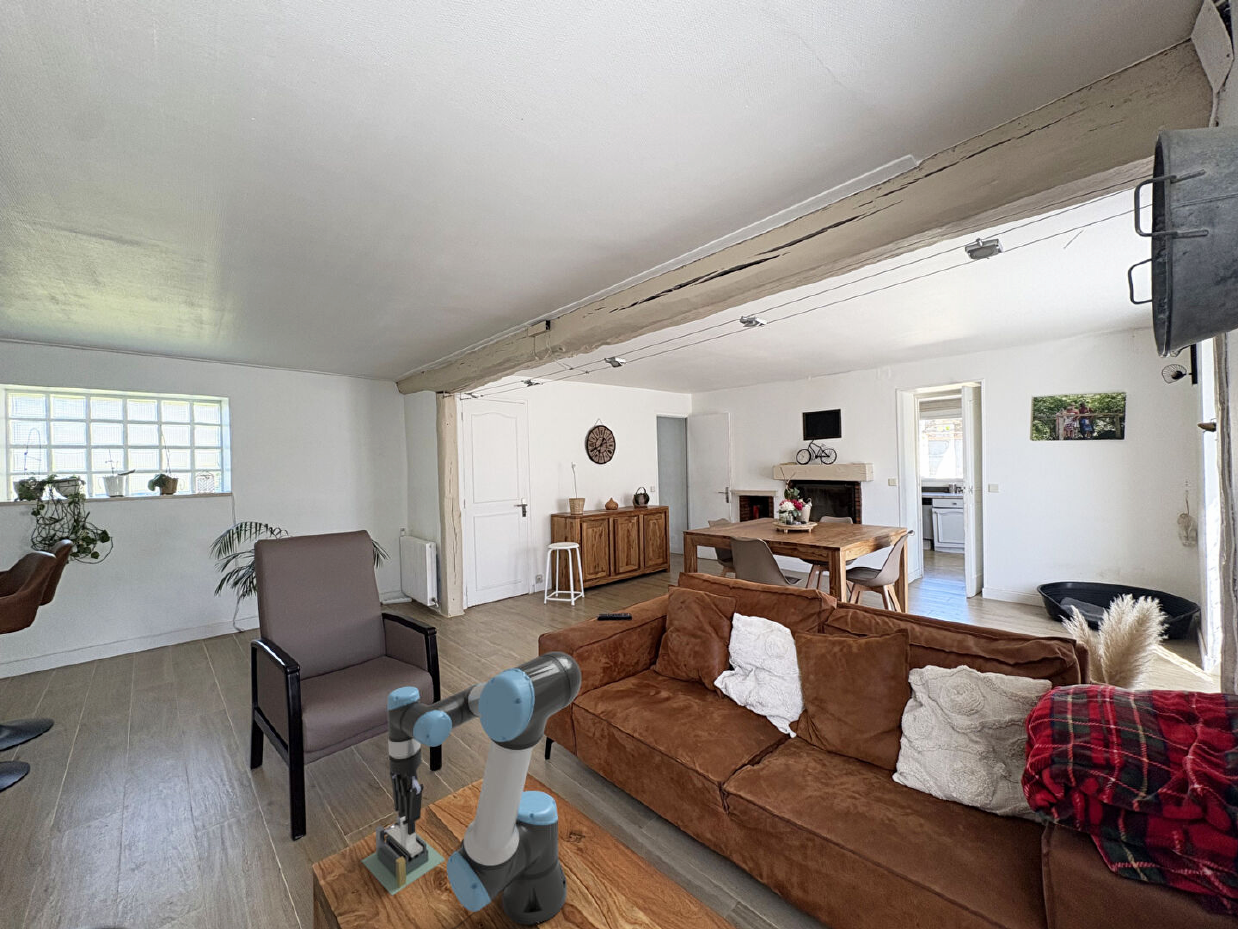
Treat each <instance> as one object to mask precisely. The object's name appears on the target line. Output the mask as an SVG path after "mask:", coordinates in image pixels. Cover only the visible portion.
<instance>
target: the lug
mask: <svg viewBox="0 0 1238 929" xmlns="http://www.w3.org/2000/svg"><path fill="white" fill-rule="evenodd" d="M396 882H397V885H398V887H399V888H400V887H402V886H403V885H405V884H406V865H405V859H404V858H403V857H400V858H398V859H397V860H396Z"/></svg>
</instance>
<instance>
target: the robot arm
mask: <svg viewBox="0 0 1238 929" xmlns="http://www.w3.org/2000/svg"><path fill="white" fill-rule="evenodd" d="M581 686H582V672H581V668H580V666H579V664H578V663H577V661H576V660H575V658H574V657H572V656H571V655H569V654H567V653H565V652H563V651H550V652H546V653H544V654H541V655H539V656H536V657H535V658H532V659H531V660H528V661H526V662H523V663H521V664H519V665H516V666H514V667H512V668H508V669H505V670H503V671H501V672H500V673H498V674H497V675H494V676H493V677H492V678H490V679H489V680H488V681H486V682H480V683H476V684H473V685H471V686H470V687H468V688H466V689H464V690H461V691H459V692H457V693H454V694H453V695H449V696H447V697H445V698H443V699H442V700H439V701H437V702H434V703H432V704H426V703H423V702H422V701H420V699H421V697H420V691H419V689H418V688H417V687H414V686H404V687H400V688H397V689H393V691H391V692H390V693H389V694H388V695H387V708H386V712H387V713H386V714H387V728H388V729H387V733H388V734H387V735H388V738H387V740H388V755H389V757H388V758H389V759H388V761H389V776H390V780H391V788H392V797H393V804H394V811H395V812H396V813H397V812H398V813H397V815H399V817H400V830H401V845H404V847H405V848H408V847H409V846H411V845H413V844H414V843H416V834H417V833H416V832H417V831H416V822H417V821H418V820H419V819H421V813H422V812H421V811H422V799H423V798H422V796H423V791H424V784H422V783H420V784H419V782H418V779H419V777H418V774H417V770H418V768H419V767H420V765H421V764H422V748H421V745H426V746H428V747H433V748H434V747H438V746H440V745H442V744H443V743H444V742H445V740H447V739H448V737H449V736H450V734H451V732H452V730H454V729H456V728H458V727H459V726H462V725H463V724H465V723H467V722H470V721H472V720H474V719H477V718H479V721H480V724H481V727H482V729H483V731H484V732H485V734H486V735H487V737H488V739H489V740H490V743H489V744H490V745H489V750H488V755H487V760H486V765H485V769H484V774H483V779H482V784H481V789H480V793H479V797H478V798H479V799H478V802H477V808H476V811H475V812H476V814H475V817H474V820H472V821H471V823H470V824H469V825H468V826H467V828H466V830H465V832H464V836H463V838H464V840H463V839H462V840H463V845H462V847H460V848H459V849H457V850H455V851H453V853H452V854H451V855H450V856H449V857H448V860H447V862H446V874H447V877H448V882H449V884H450V887H451V889H452V891H453V892H454V895H455V897H456V898H457V900H458V901H459V903H460V904H461V905H462V906H463V907H464V909H466V910H467V911H470V912H474V913H477V912H478V911H480V910H482V909H483V908H484V907H486V906H487V905H489V904H491V903H492V901H493V900H495V899H496V898H497V896H499V895H500V894H501V893H502V895H501V896H502V899H501V900H502V909H503V911H504V913H505V915H506V916H507V917H508V918H509V919H510V920H511V921H513V922H514V923H515V924H516V923H517V924H521V925H526V926H528V925H529V926H533V925H535V924H534V923H538V922H542V921H544V920H546V921H548V920H550V919H552V918H553V917H554V916H556V915H557V914H558V913H559V912H560V910H562V908H563V907H564V904H565V903H566V900H567V897H568V896H567V895H568V884H567V877H566V875H565V872H564V870H563V869H564V868H563V866H562V865H561V861H560V859H559V858H560V857H559V822H558V821H559V820H558V819H559V815H558V810H557V808H558V807H557V803H556V801H555V799H554V798H553V797H552V796H551V795H550V794H548V793H546V792H544V791H540V790H527V791H524V788H525V783H526V778H527V776H528V770H529V765H530V761H531V757H532V752H533V749H534V748H535V747H536V746H537V745H538V744H540V743H541V741H542V740H543V736H544V735H545V734H544V733H545V730H546V729H545V728H546V725H547V721H548V719H549V718H550V717H551V716H553V715H555V714H556V713H558V712H560V711H561V710H563V709H564V708H566V707H568V706H569V705H570V704H571V703H572V702H573V701H574V700H575V699H576V697H578V694H579V691H580V689H581ZM544 922H545V921H544ZM542 923H543V922H542ZM538 924H539V923H538Z"/></svg>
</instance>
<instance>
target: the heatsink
mask: <svg viewBox="0 0 1238 929" xmlns="http://www.w3.org/2000/svg"><path fill="white" fill-rule="evenodd" d="M422 839H423V838H422ZM422 839H420V838H419V837H418V836H417V835H416V842H417V843H418V844H420V845H421V846H422V847H423V851H421V852H420V853H418V854H416V855H415V856H413V857H412V858H411V857H410V856H409V855H408V854H407V853H406V852H405V851H404V850H403V849H402V848H400V847H399V846H398V845H397V844H396V843H395V842H394V841H393V840H392V839H391V838H390V837H389V836H387V835H385V841H384V840H383V839H381V840H379V844H380V848H378V860H379V861H380V862H381V863H382V864H383V865H384V866H385V867H386V868H387V869H388V870H389V871H390V873H391V874H392V875H393V876H394V877H395V878H396V860H397V859H398V858H400V857H403V858H404V859H405V865H406V876H407V875H408V874H410V873H411V872H413V871H414V870H416V869H417V868H419V867H420V866H422V865H423V864H425V863H426V862H428V861H429V857H428V849H426V843H425V842H426V841H425V840H424V839H423V840H424V841H425V842H424V841H423V840H422Z"/></svg>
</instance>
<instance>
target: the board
mask: <svg viewBox="0 0 1238 929" xmlns="http://www.w3.org/2000/svg"><path fill="white" fill-rule="evenodd" d="M416 835H417V836H418V837H419V838H420V839H422V840H423V841H424V842H425V843H426V849H428V857H429V861H428V862H426V863H425V864H423V865H422V866H420V867H419V868H417V869H416V870H414V871H413V872H411V873H410V874H408V875H407V876H406V884H405V885H403V886H402V887H400V888H399V887H398V885H397V882H396V878H395V877H394V876H393V875H392V874H391V873H390V871H389V870H388V869H387V868H386V867H385V866H384V865H383V864H382V863H381V862H380V861H379V860H378V855H377V852H376V851H375V852H374V853H372V854H370V855H369V856H367V857H365V858H364V859H361V863H363V865H364V866H365V867H366V868H367V870H369V871H370V873H371V874H372V875H373V876H374V877H375V878H376V880H378V882H379V883H380V884H381V885H382V886H383V887H384V888H385V889H386V891H388V893H389V894H390V895H391V896H394V895H395V894H398V892H400V891H402V890H403V889H404V888H406V887H407V886H409V885H410V884H412V883H413V882H415V881H416V880H418V879H419V878H421V877H423V875H426V874H427V873H428V872H429V871H431V870H432V869H434V868H435V867H437V866H439V865H440V864H441V863H443V862H444V861H446V858H444V856H442V855H441V854H440V853H439V852H438V851H437V850H435V849H434V848H433V847H432V846H431V845H430V844H429V843H428V842H427V841H425V839H423V838H422V837H421V836H420V835H419V834H418V833H416Z"/></svg>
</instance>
